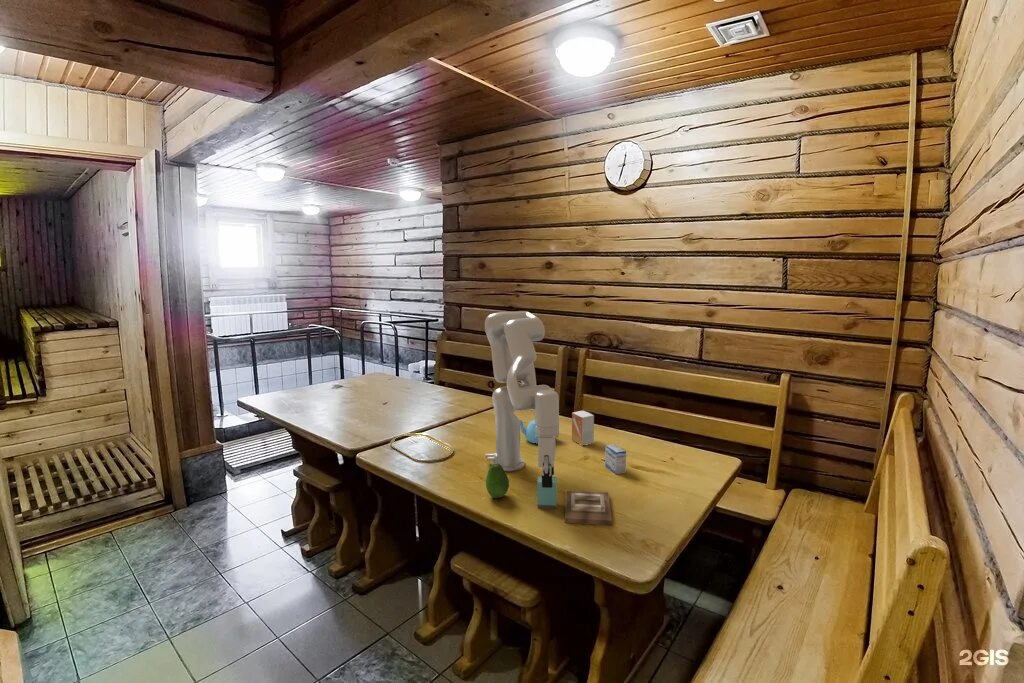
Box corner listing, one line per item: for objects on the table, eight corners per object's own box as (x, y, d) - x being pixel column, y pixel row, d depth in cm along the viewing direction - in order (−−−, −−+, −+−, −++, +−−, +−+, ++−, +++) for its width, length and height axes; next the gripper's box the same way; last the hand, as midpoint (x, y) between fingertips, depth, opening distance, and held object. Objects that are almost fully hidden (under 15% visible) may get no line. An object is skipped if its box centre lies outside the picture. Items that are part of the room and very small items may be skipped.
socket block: (565, 522, 147) (565, 513, 146) (566, 494, 164) (566, 486, 164) (611, 525, 145) (612, 515, 144) (608, 496, 163) (608, 487, 162)
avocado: (481, 497, 164) (480, 463, 162) (498, 489, 169) (497, 457, 167) (497, 505, 158) (496, 470, 156) (514, 496, 164) (513, 463, 162)
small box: (571, 440, 214) (571, 412, 212) (583, 438, 216) (583, 410, 214) (581, 446, 207) (582, 417, 204) (594, 443, 209) (594, 415, 207)
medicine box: (604, 466, 186) (604, 445, 185) (614, 464, 188) (614, 443, 187) (615, 474, 179) (616, 452, 178) (626, 472, 181) (626, 450, 179)
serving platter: (419, 433, 227) (419, 430, 227) (462, 454, 201) (462, 451, 201) (382, 443, 215) (382, 440, 215) (423, 467, 189) (423, 464, 189)
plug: (537, 508, 156) (537, 482, 154) (538, 502, 160) (538, 476, 158) (556, 509, 155) (556, 482, 154) (556, 502, 159) (556, 477, 158)
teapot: (563, 440, 214) (563, 418, 212) (537, 449, 204) (537, 426, 203) (540, 432, 225) (540, 411, 223) (515, 439, 216) (515, 417, 214)
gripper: (537, 421, 162) (538, 469, 164) (532, 438, 145) (534, 492, 147) (560, 421, 161) (560, 470, 163) (557, 438, 144) (558, 493, 146)
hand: (548, 480), depth 155 cm, fingers open, 9 cm apart
